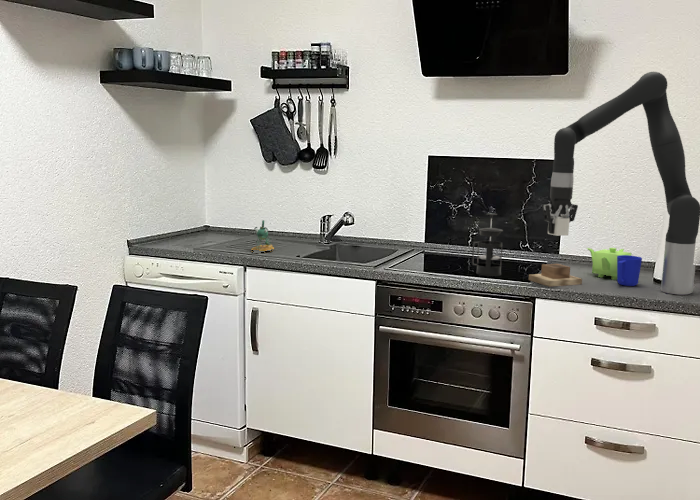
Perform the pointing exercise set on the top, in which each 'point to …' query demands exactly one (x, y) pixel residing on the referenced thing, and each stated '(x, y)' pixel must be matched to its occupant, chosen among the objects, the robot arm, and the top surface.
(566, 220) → the cube
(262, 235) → the frog figurine
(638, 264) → the mug
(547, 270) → the base block
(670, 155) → the robot arm
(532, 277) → the board
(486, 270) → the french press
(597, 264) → the kettle
